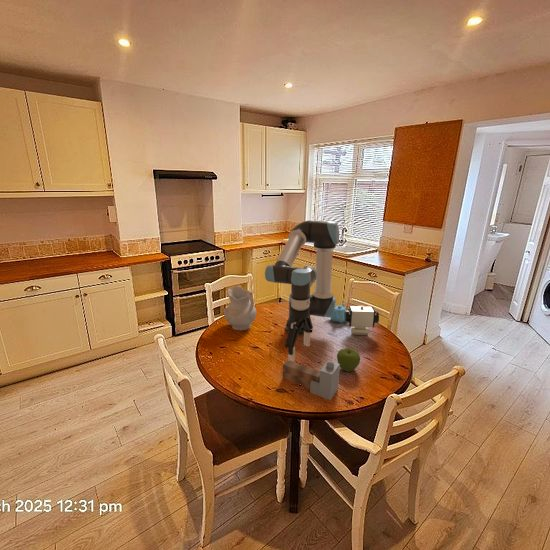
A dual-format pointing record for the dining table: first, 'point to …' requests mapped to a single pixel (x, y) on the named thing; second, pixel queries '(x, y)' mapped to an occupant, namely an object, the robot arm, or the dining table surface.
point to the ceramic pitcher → (240, 308)
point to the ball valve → (361, 319)
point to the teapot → (338, 313)
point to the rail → (300, 373)
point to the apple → (348, 359)
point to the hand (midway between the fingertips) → (299, 352)
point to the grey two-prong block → (327, 381)
